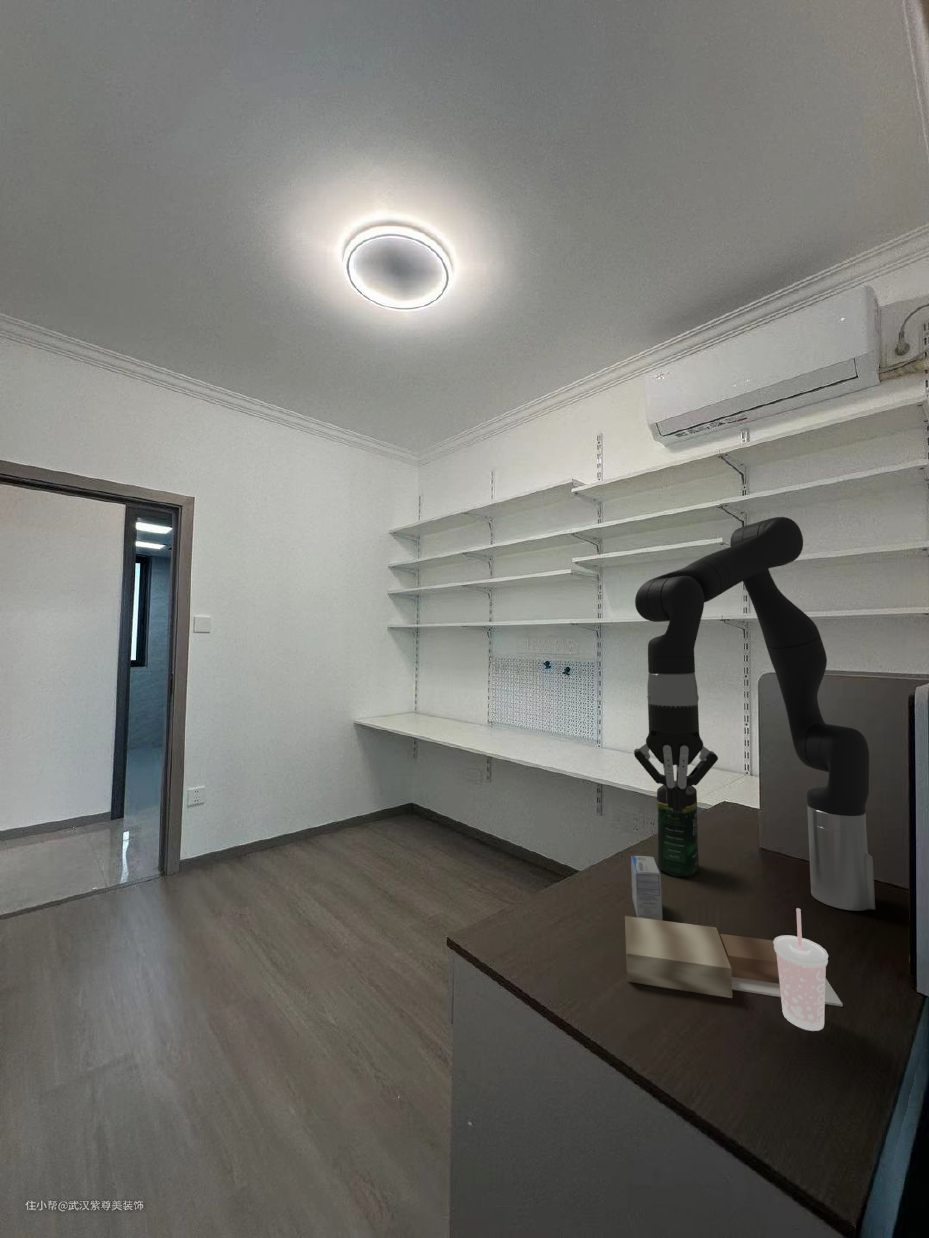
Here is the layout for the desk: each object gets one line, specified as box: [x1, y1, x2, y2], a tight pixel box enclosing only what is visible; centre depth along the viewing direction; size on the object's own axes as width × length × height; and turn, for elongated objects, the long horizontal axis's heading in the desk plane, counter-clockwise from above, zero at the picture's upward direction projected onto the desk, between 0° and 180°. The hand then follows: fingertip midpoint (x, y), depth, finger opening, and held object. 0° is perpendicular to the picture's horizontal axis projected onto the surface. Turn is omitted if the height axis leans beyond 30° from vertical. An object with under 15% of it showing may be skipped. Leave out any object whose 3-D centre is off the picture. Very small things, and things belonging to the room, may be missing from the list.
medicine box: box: [630, 855, 664, 921], centre depth 97 cm, size 8×4×9 cm, turn 168°
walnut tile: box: [719, 933, 780, 984], centre depth 79 cm, size 9×6×3 cm, turn 75°
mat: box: [732, 977, 844, 1007], centre depth 77 cm, size 14×9×1 cm, turn 74°
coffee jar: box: [656, 780, 700, 877], centre depth 115 cm, size 10×8×19 cm
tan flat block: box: [624, 915, 733, 999], centre depth 80 cm, size 14×11×4 cm
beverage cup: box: [773, 907, 829, 1032], centre depth 69 cm, size 6×6×14 cm
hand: (676, 810), depth 83 cm, fingers closed
